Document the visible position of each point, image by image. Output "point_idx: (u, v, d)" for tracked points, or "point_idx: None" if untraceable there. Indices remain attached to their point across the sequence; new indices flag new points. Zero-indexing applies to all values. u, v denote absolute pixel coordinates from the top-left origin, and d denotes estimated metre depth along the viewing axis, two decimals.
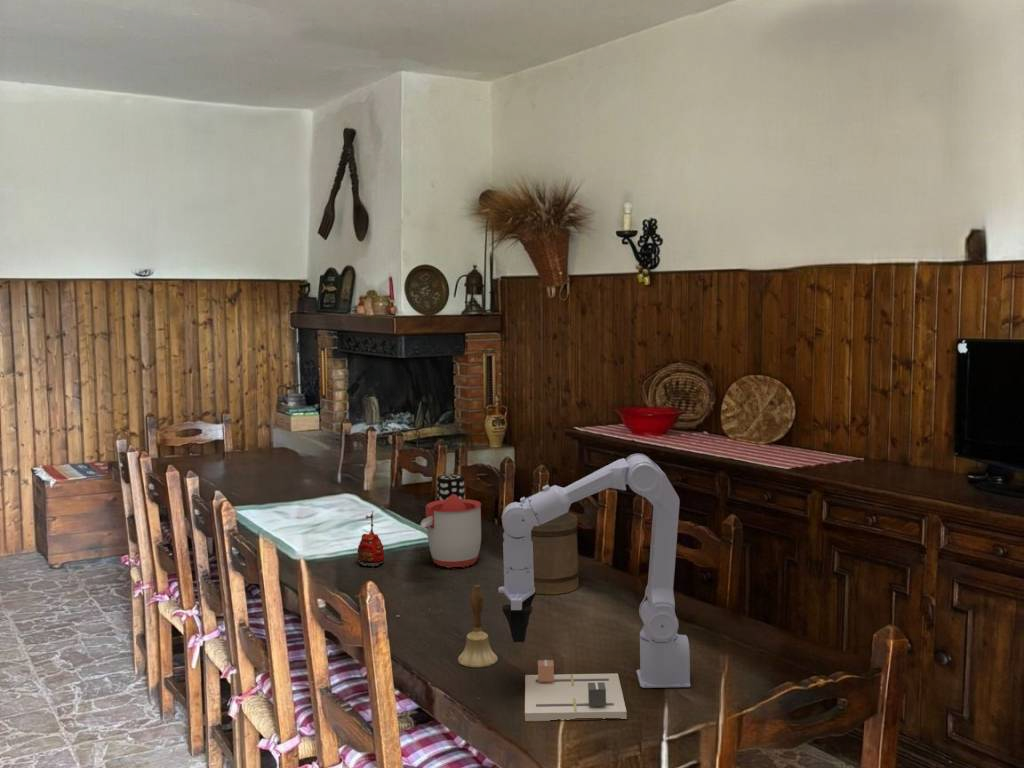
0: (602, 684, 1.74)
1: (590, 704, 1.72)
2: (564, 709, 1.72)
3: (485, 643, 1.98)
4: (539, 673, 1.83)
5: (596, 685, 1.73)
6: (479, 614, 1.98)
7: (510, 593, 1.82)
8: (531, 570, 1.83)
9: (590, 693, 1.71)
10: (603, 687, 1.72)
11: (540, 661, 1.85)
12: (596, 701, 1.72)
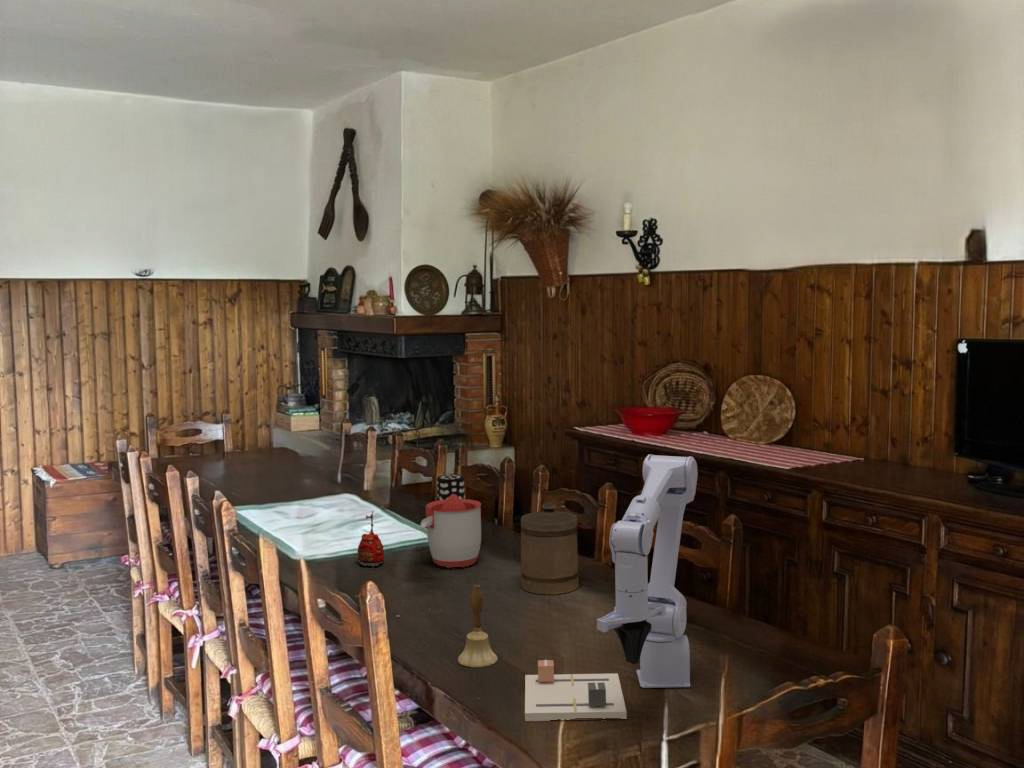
0: (602, 684, 1.74)
1: (590, 704, 1.72)
2: (564, 709, 1.72)
3: (485, 643, 1.98)
4: (539, 673, 1.83)
5: (596, 685, 1.73)
6: (479, 614, 1.98)
7: (614, 614, 1.71)
8: (635, 596, 1.68)
9: (590, 693, 1.71)
10: (603, 687, 1.72)
11: (540, 661, 1.85)
12: (596, 701, 1.72)
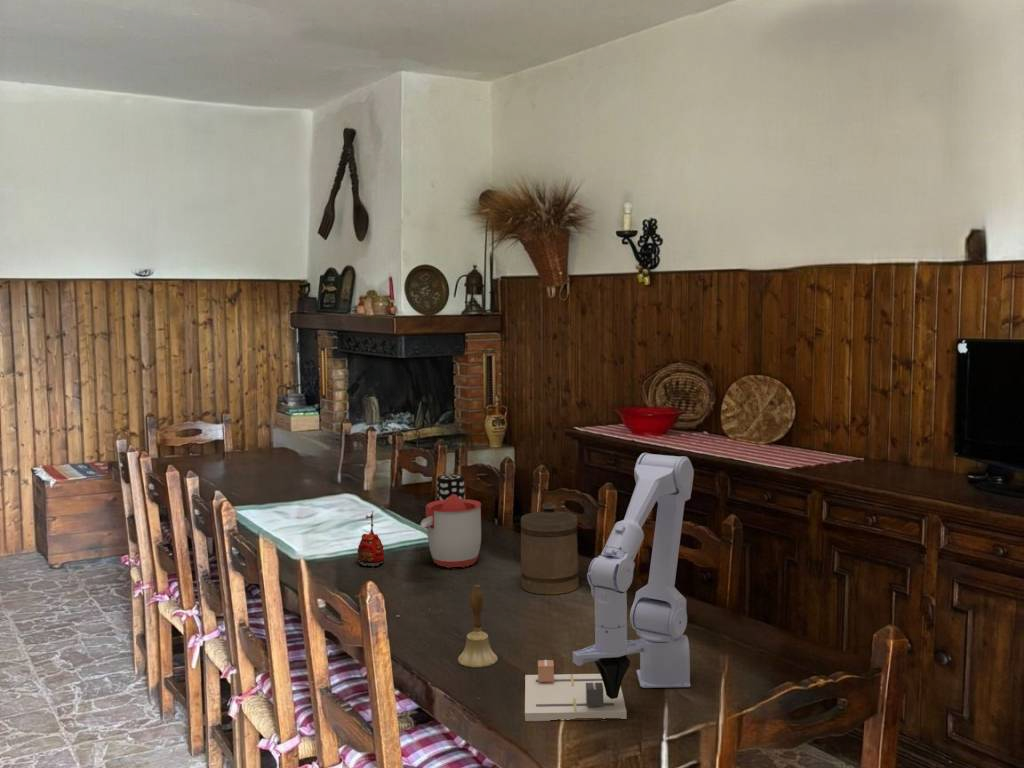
0: (600, 684, 1.74)
1: (588, 704, 1.72)
2: (564, 709, 1.72)
3: (485, 643, 1.98)
4: (539, 673, 1.83)
5: (594, 685, 1.73)
6: (479, 614, 1.98)
7: (594, 647, 1.72)
8: (611, 631, 1.69)
9: (588, 693, 1.71)
10: (601, 687, 1.72)
11: (540, 661, 1.85)
12: (594, 701, 1.72)
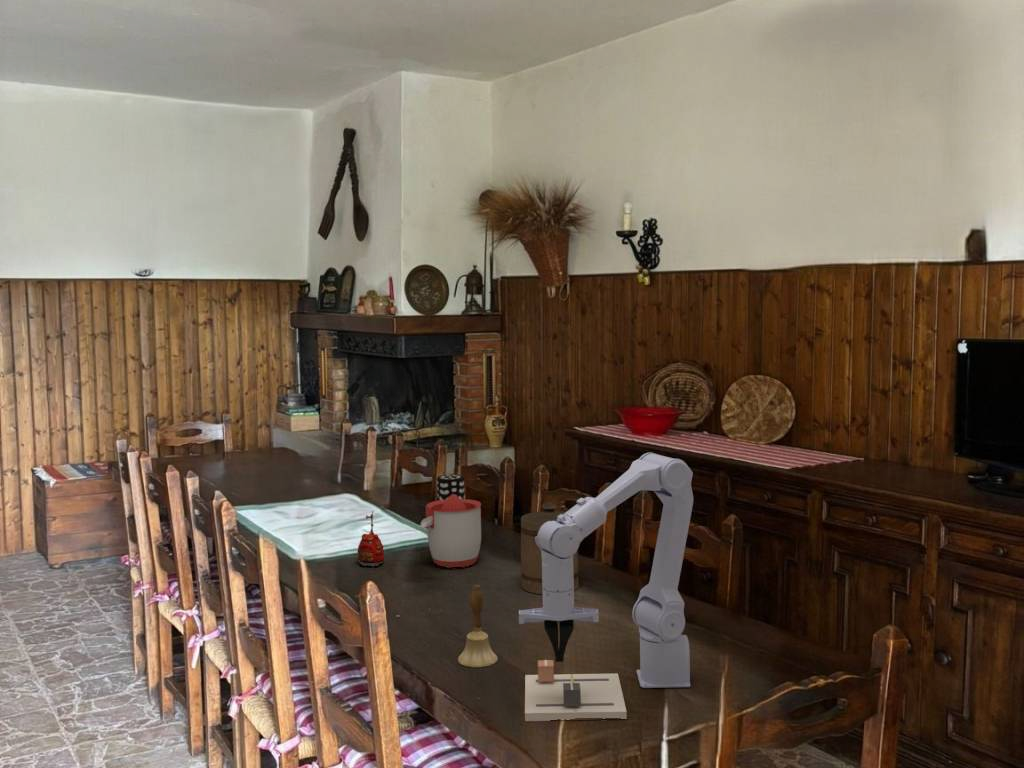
0: (577, 684, 1.74)
1: (565, 704, 1.72)
2: (564, 709, 1.72)
3: (485, 643, 1.98)
4: (539, 673, 1.83)
5: (571, 685, 1.73)
6: (479, 614, 1.98)
7: None
8: (551, 595, 1.73)
9: (565, 693, 1.72)
10: (578, 687, 1.72)
11: (540, 661, 1.85)
12: (571, 701, 1.72)
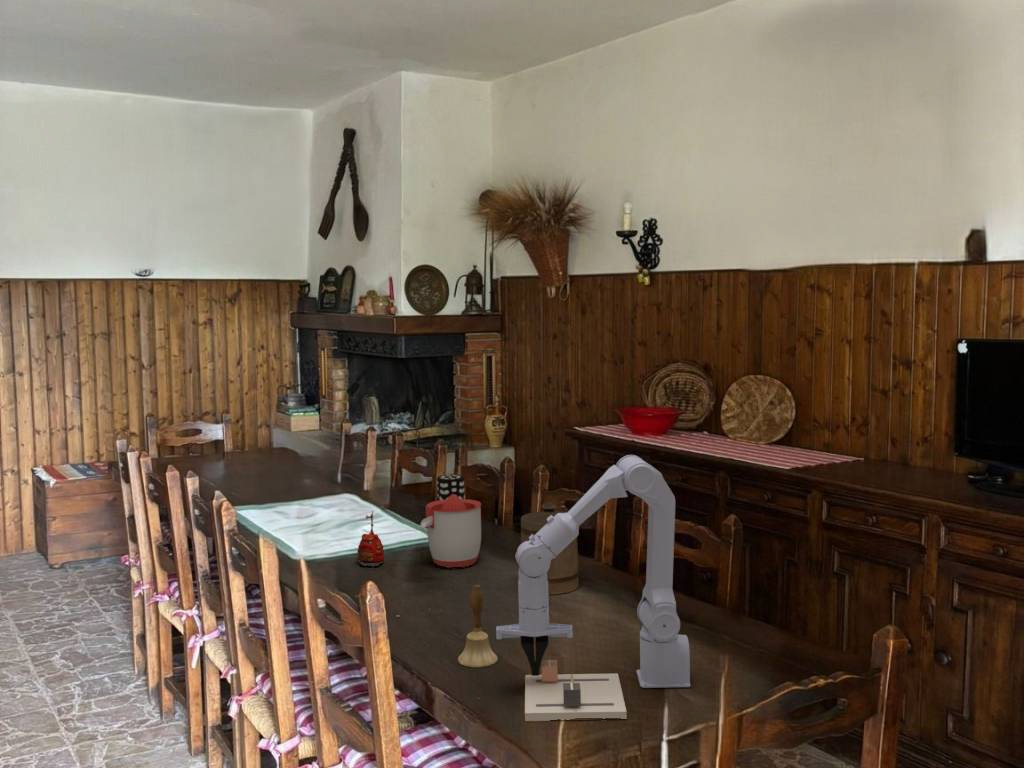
0: (577, 684, 1.74)
1: (565, 704, 1.72)
2: (564, 709, 1.72)
3: (485, 643, 1.98)
4: (543, 673, 1.83)
5: (571, 685, 1.73)
6: (479, 614, 1.98)
7: None
8: (526, 612, 1.80)
9: (565, 693, 1.72)
10: (578, 687, 1.72)
11: (544, 661, 1.85)
12: (571, 701, 1.72)
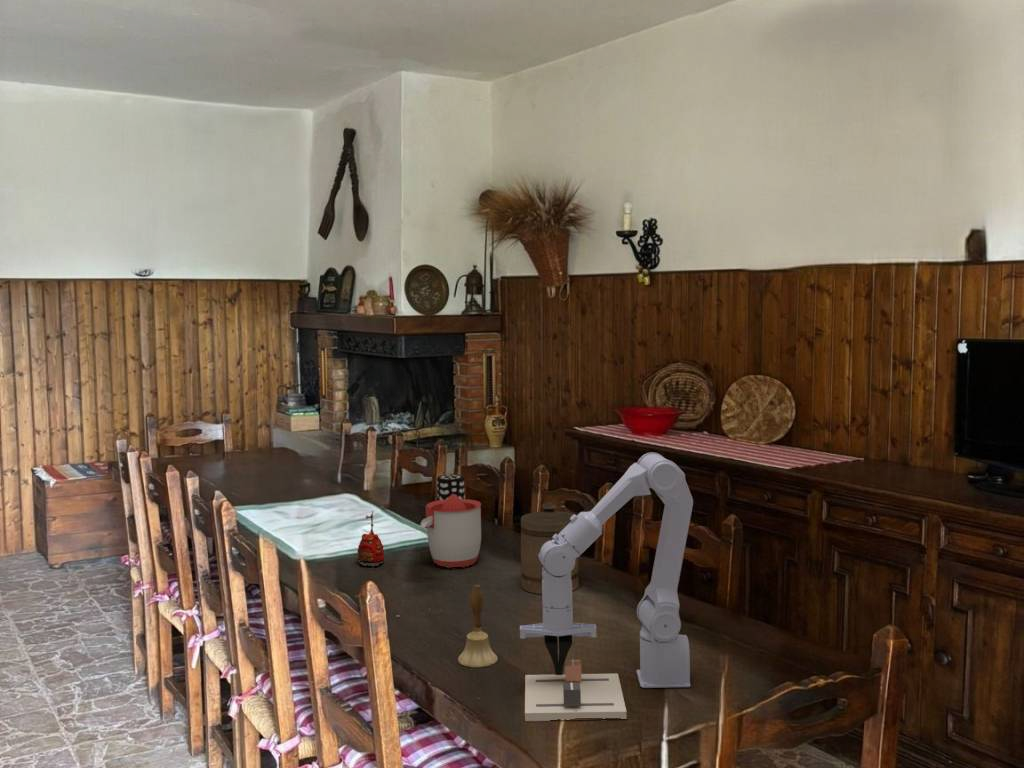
0: (577, 684, 1.74)
1: (565, 704, 1.72)
2: (564, 709, 1.72)
3: (485, 643, 1.98)
4: (566, 673, 1.82)
5: (571, 685, 1.73)
6: (479, 614, 1.98)
7: None
8: (550, 611, 1.80)
9: (565, 693, 1.72)
10: (578, 687, 1.72)
11: (567, 661, 1.85)
12: (571, 701, 1.72)
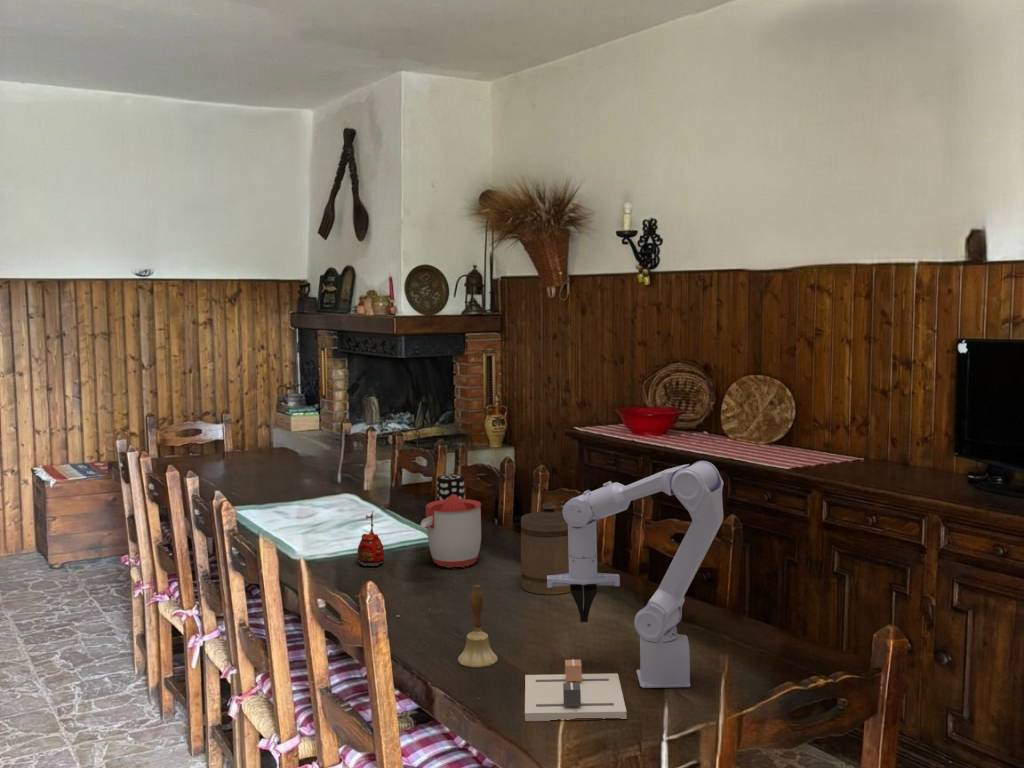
0: (577, 684, 1.74)
1: (565, 704, 1.72)
2: (564, 709, 1.72)
3: (485, 643, 1.98)
4: (567, 673, 1.82)
5: (571, 685, 1.73)
6: (479, 614, 1.98)
7: None
8: (576, 561, 1.91)
9: (565, 693, 1.72)
10: (578, 687, 1.72)
11: (567, 661, 1.85)
12: (571, 701, 1.72)
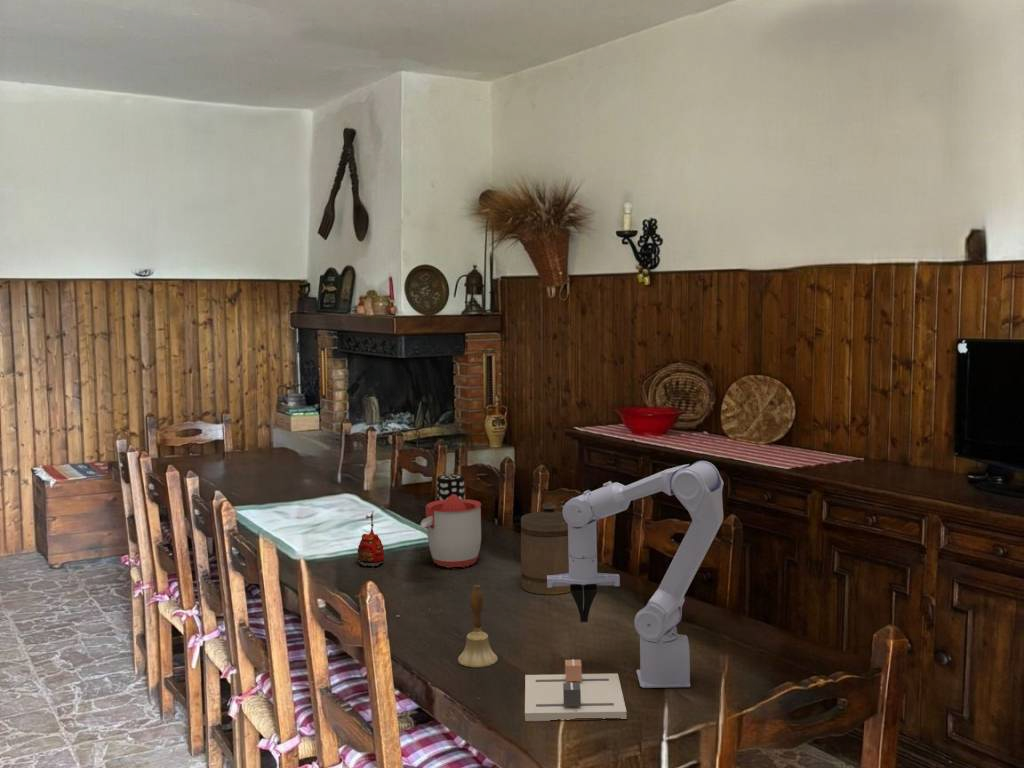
0: (577, 684, 1.74)
1: (565, 704, 1.72)
2: (564, 709, 1.72)
3: (485, 643, 1.98)
4: (567, 673, 1.82)
5: (571, 685, 1.73)
6: (479, 614, 1.98)
7: None
8: (576, 561, 1.91)
9: (565, 693, 1.72)
10: (578, 687, 1.72)
11: (567, 661, 1.85)
12: (571, 701, 1.72)
